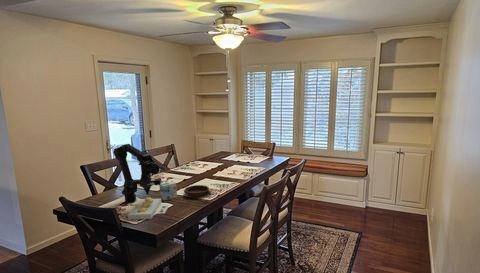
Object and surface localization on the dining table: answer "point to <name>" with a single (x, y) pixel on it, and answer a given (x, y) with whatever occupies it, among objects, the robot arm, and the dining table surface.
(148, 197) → the button
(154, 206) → the board
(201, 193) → the dish
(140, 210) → the button
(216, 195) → the dining table surface
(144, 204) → the button
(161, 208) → the card
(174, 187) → the light bulb box
